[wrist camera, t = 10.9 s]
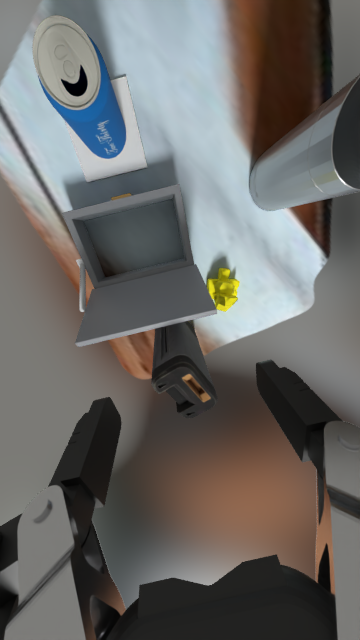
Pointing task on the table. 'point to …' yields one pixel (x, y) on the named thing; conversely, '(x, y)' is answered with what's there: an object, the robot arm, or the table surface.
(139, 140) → the pad
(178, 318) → the case
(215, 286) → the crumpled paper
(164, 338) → the electronic device
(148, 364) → the table surface
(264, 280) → the table surface
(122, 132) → the beverage can
